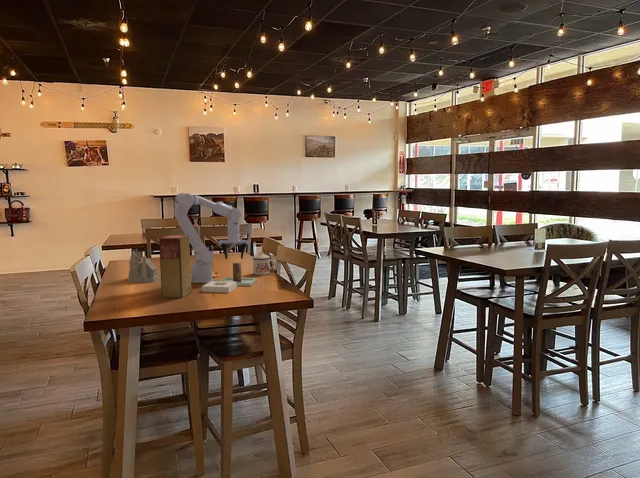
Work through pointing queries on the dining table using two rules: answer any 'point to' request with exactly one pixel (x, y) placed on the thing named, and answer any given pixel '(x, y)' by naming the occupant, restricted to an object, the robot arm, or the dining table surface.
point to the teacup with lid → (262, 264)
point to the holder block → (219, 286)
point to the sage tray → (244, 281)
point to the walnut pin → (237, 272)
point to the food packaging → (175, 266)
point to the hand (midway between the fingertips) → (234, 258)
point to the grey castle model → (142, 270)
